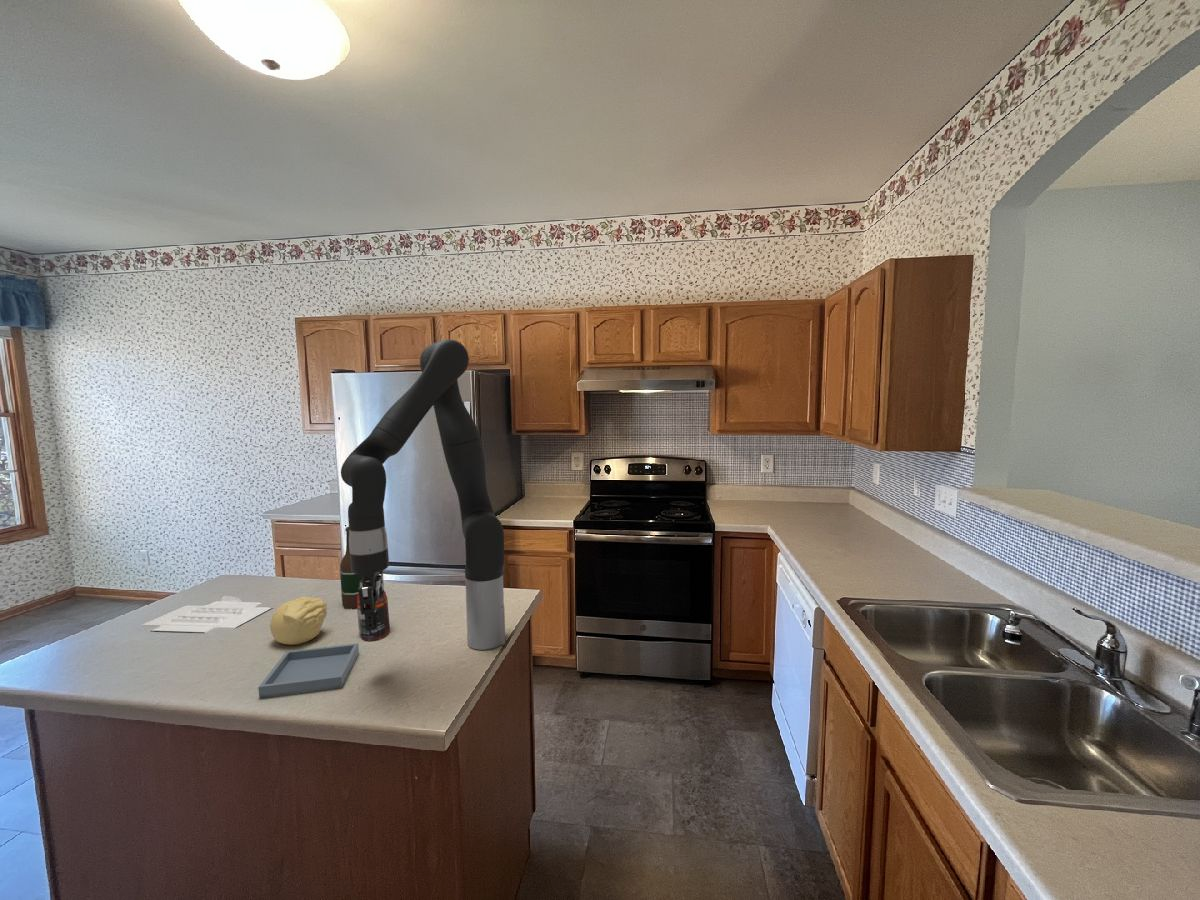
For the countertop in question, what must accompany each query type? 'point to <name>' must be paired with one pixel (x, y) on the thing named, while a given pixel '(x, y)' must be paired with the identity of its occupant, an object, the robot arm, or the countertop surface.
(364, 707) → the countertop surface
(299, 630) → the sculpture
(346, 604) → the beer bottle
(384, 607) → the supplement bottle
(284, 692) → the tray
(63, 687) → the countertop surface
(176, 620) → the paper sheets
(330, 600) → the countertop surface
